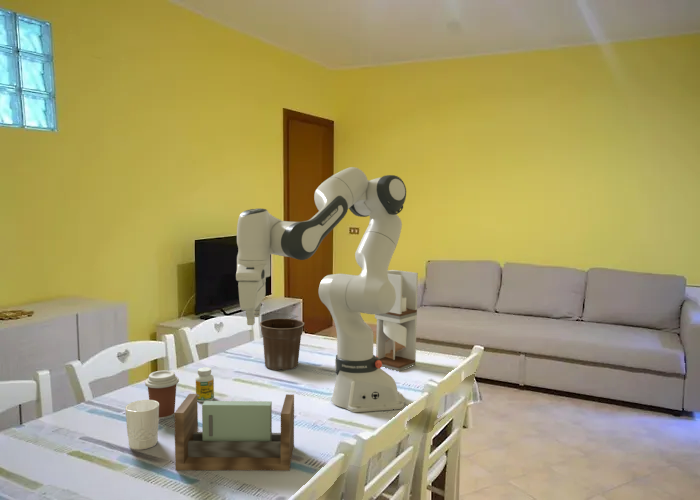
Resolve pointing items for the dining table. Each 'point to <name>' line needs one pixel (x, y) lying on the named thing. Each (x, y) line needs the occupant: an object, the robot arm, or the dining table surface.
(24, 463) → the dining table surface
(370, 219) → the robot arm
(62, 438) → the dining table surface
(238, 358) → the dining table surface
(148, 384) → the coffee cup
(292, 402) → the wooden book rack
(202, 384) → the supplement bottle
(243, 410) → the door panel
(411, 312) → the display case
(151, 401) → the white cup
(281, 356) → the plant pot
